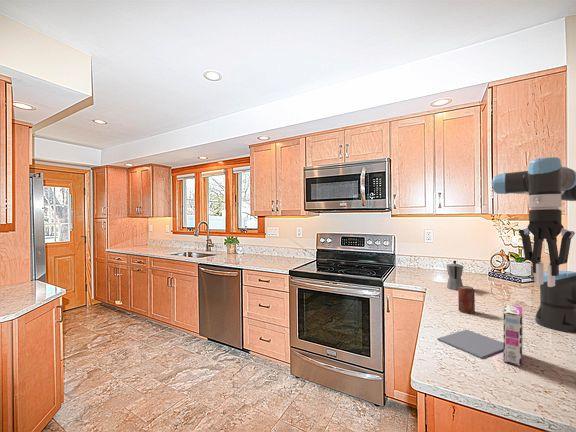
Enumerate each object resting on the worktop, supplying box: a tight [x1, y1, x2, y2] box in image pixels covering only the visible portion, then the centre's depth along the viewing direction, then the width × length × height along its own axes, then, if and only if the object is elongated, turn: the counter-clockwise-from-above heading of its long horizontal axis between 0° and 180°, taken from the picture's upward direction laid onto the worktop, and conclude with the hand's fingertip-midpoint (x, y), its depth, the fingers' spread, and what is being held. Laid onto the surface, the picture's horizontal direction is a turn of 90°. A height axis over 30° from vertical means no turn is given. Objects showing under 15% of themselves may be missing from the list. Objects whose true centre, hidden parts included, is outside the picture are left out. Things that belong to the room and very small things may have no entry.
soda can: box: [457, 285, 476, 315], centre depth 143 cm, size 7×7×12 cm
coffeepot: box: [446, 260, 464, 291], centre depth 185 cm, size 15×9×18 cm, turn 153°
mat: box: [436, 329, 504, 359], centre depth 108 cm, size 18×16×1 cm
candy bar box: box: [502, 304, 524, 367], centre depth 97 cm, size 11×5×16 cm, turn 141°
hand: (545, 285), depth 89 cm, fingers open, 2 cm apart
